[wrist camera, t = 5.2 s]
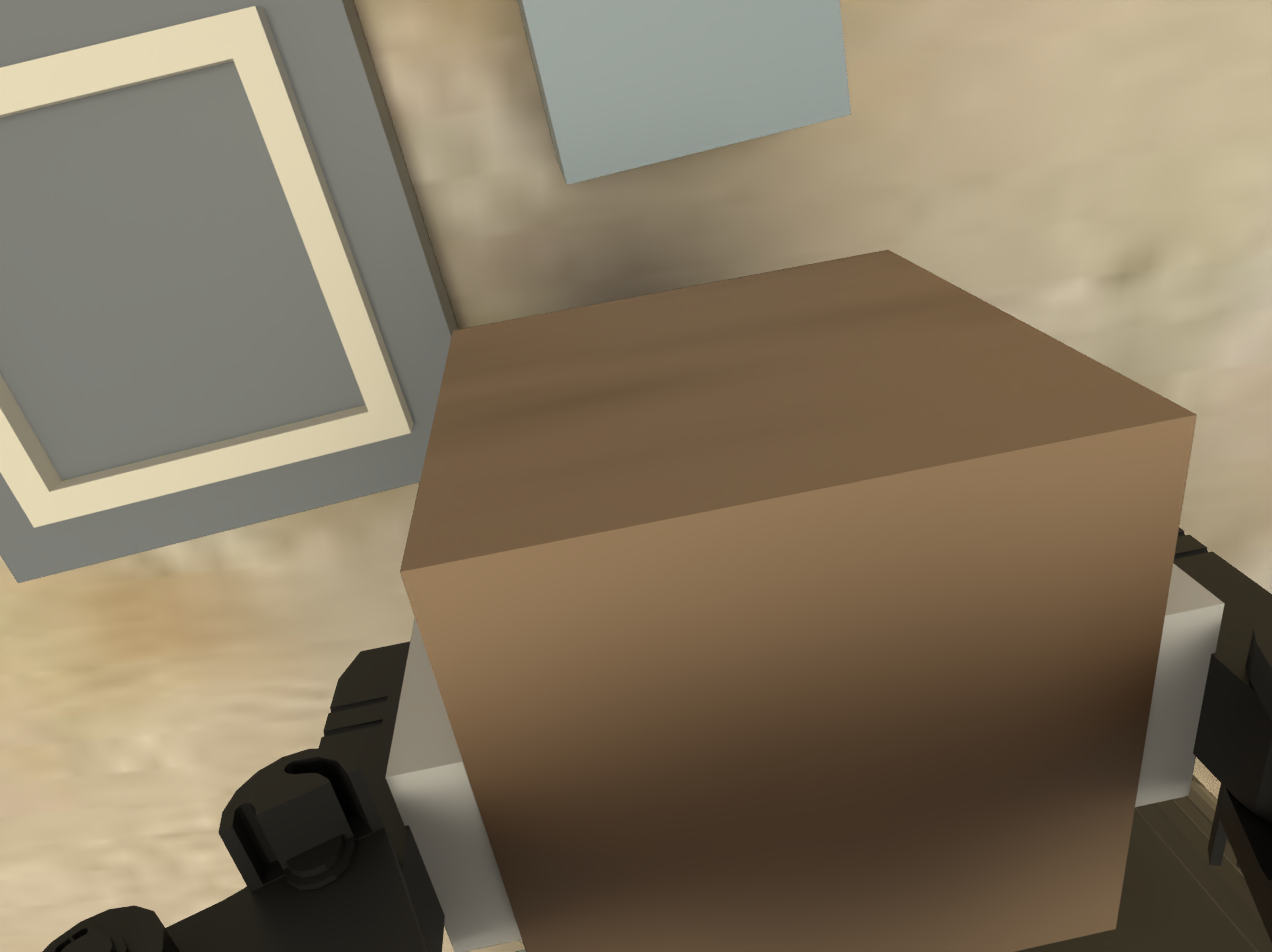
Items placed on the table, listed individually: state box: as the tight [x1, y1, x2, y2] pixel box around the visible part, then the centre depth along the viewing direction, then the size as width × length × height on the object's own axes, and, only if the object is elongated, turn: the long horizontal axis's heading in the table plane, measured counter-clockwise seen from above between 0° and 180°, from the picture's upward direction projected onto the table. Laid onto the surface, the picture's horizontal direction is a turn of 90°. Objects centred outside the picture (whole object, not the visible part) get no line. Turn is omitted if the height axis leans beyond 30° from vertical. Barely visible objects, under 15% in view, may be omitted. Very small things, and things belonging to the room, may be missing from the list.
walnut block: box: [400, 250, 1197, 952], centre depth 12 cm, size 7×7×7 cm
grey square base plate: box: [0, 0, 459, 583], centre depth 26 cm, size 16×16×3 cm
